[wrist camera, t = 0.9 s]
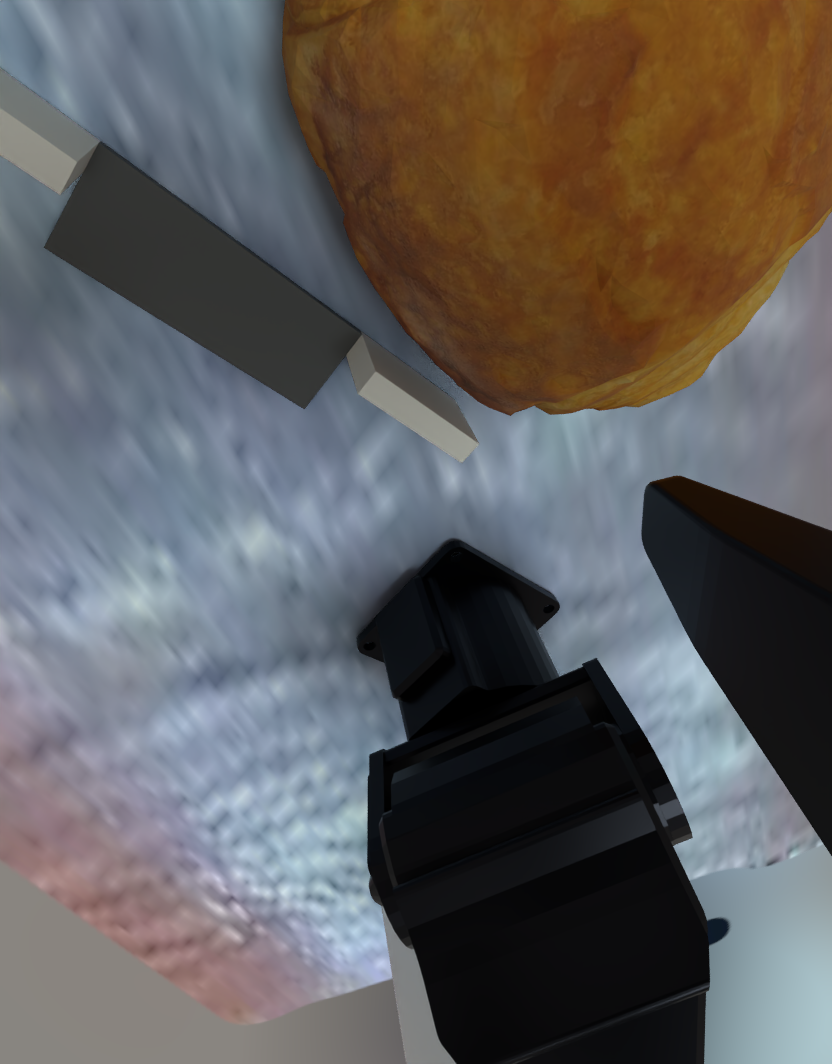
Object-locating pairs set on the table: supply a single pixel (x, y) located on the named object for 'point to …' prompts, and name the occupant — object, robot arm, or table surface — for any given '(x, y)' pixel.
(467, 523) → the table surface
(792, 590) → the robot arm
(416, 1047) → the white bottle
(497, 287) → the croissant
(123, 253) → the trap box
